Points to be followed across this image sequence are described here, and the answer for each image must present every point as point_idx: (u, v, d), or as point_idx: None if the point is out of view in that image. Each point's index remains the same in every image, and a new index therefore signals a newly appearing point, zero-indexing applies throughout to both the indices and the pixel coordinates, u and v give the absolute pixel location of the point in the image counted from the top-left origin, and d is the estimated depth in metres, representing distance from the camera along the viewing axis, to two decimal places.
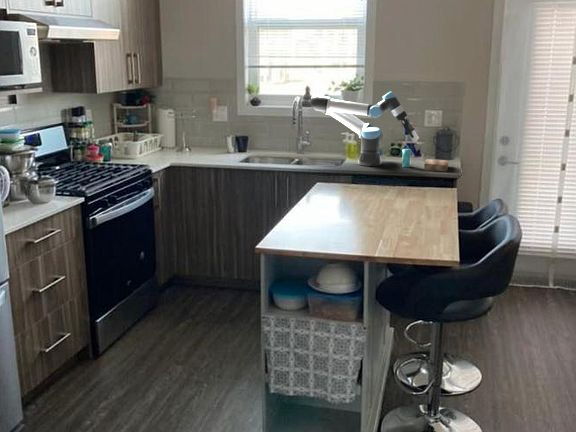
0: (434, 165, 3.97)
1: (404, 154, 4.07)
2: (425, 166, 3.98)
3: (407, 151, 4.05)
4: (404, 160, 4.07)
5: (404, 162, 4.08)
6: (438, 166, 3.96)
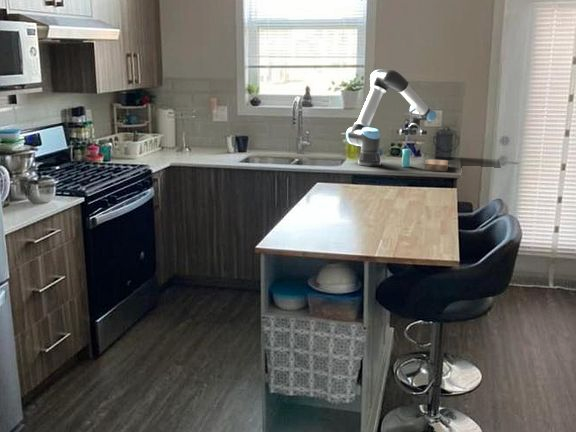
0: (434, 165, 3.97)
1: (404, 154, 4.07)
2: (425, 166, 3.98)
3: (407, 151, 4.05)
4: (404, 160, 4.07)
5: (404, 162, 4.08)
6: (438, 166, 3.96)
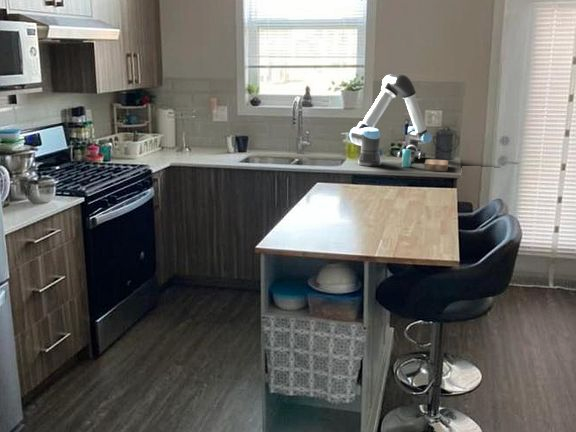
0: (434, 165, 3.97)
1: (404, 154, 4.07)
2: (425, 166, 3.98)
3: (407, 151, 4.05)
4: (404, 160, 4.07)
5: (404, 162, 4.08)
6: (438, 166, 3.96)
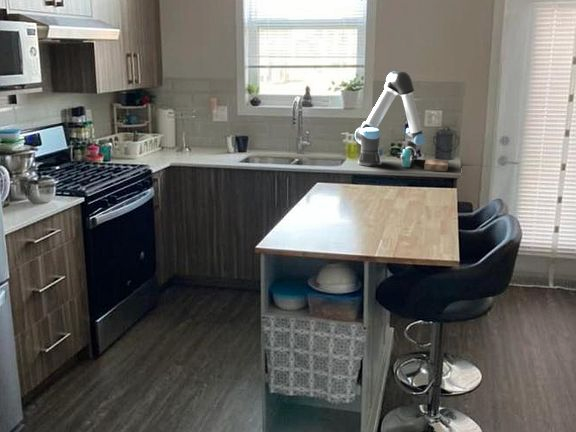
0: (434, 165, 3.97)
1: (404, 154, 4.07)
2: (425, 166, 3.98)
3: (407, 151, 4.05)
4: (404, 160, 4.07)
5: (404, 162, 4.08)
6: (438, 166, 3.96)
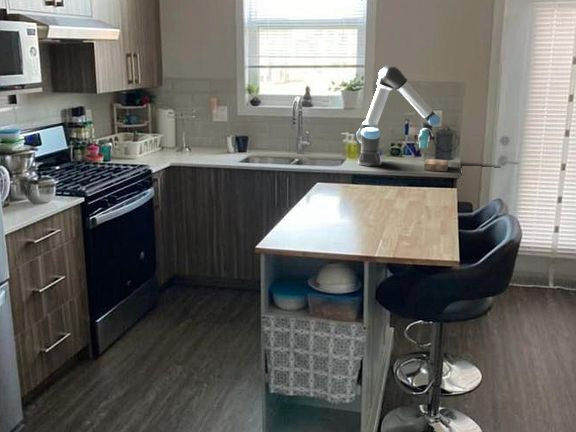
0: (434, 165, 3.97)
1: (421, 135, 4.02)
2: (425, 166, 3.98)
3: (424, 132, 4.00)
4: (422, 141, 4.02)
5: (421, 143, 4.03)
6: (438, 166, 3.96)
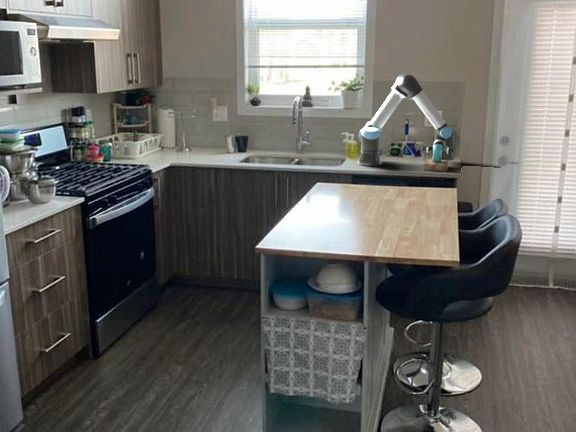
0: (434, 165, 3.97)
1: (435, 149, 4.01)
2: (425, 166, 3.98)
3: (438, 146, 4.00)
4: (435, 155, 4.01)
5: (435, 157, 4.02)
6: (438, 166, 3.96)
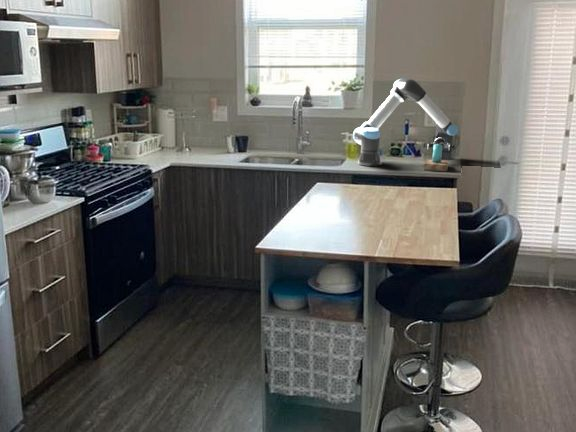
0: (434, 165, 3.97)
1: (435, 149, 4.01)
2: (425, 166, 3.98)
3: (438, 146, 4.00)
4: (435, 156, 4.01)
5: (435, 157, 4.02)
6: (438, 166, 3.96)
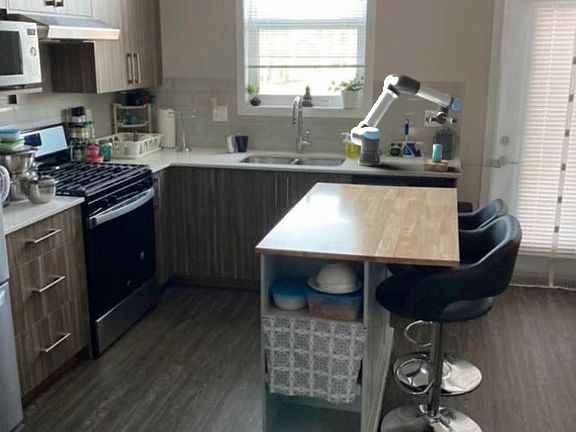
0: (434, 165, 3.97)
1: (435, 149, 4.01)
2: (425, 166, 3.98)
3: (438, 146, 4.00)
4: (435, 156, 4.01)
5: (435, 157, 4.02)
6: (438, 166, 3.96)
